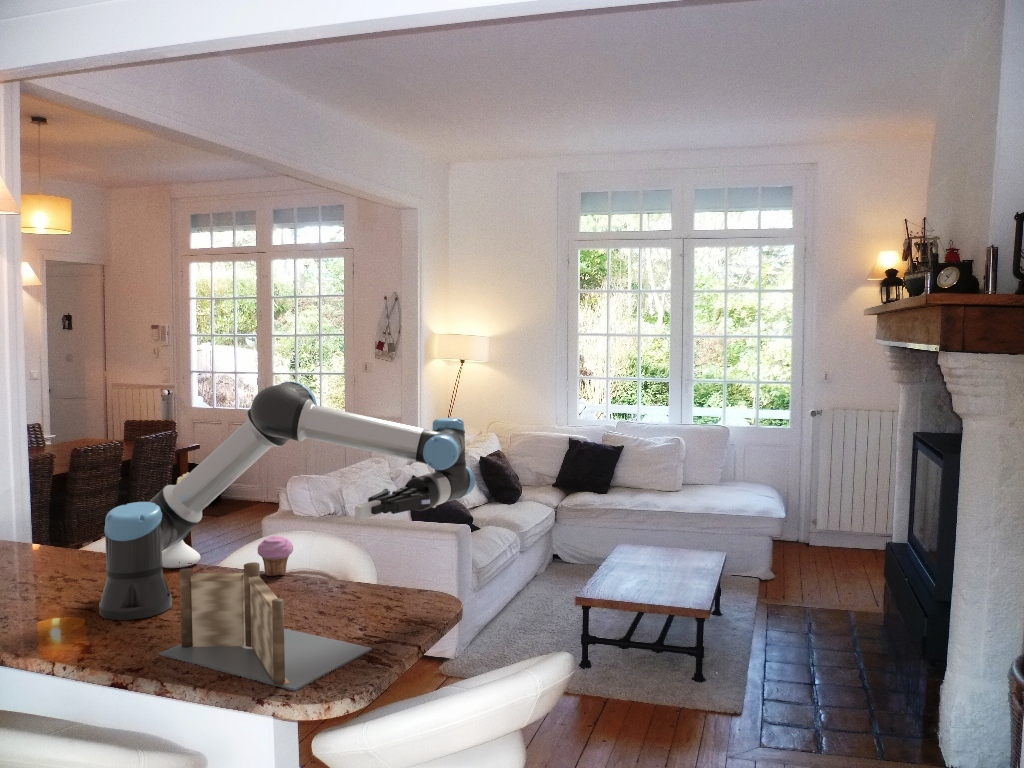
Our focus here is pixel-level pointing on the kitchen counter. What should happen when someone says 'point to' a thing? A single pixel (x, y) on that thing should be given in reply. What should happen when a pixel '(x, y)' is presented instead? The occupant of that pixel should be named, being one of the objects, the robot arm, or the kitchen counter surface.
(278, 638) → the fence panel
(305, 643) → the card
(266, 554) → the cupcake
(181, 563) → the flower in vase
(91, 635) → the kitchen counter surface
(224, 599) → the wooden fence section
